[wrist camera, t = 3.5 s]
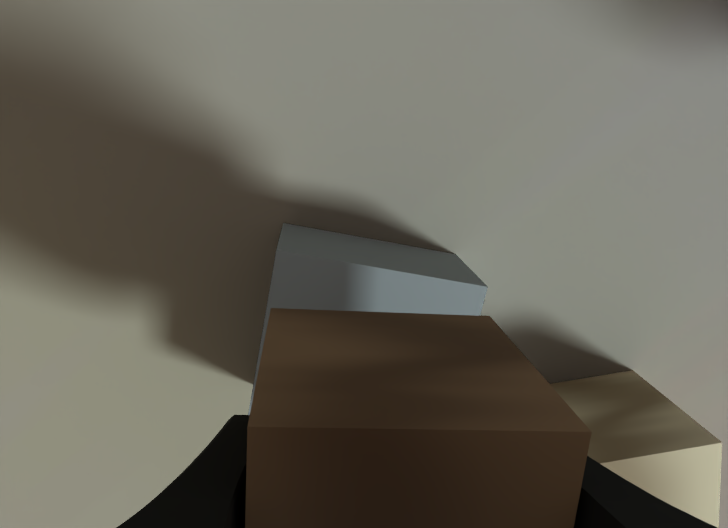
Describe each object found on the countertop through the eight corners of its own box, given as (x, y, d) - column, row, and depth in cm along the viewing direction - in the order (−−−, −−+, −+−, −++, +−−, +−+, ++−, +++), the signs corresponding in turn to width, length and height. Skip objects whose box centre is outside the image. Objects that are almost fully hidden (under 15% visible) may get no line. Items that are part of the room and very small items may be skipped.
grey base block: (454, 252, 20) (487, 286, 16) (416, 405, 22) (439, 470, 18) (283, 221, 19) (276, 249, 15) (256, 382, 21) (243, 445, 17)
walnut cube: (489, 316, 13) (591, 431, 8) (464, 503, 15) (541, 695, 10) (270, 307, 13) (247, 426, 8) (264, 502, 14) (240, 706, 9)
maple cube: (631, 369, 22) (722, 442, 17) (632, 481, 23) (716, 579, 18) (503, 390, 22) (558, 470, 17) (511, 502, 23) (564, 607, 18)
